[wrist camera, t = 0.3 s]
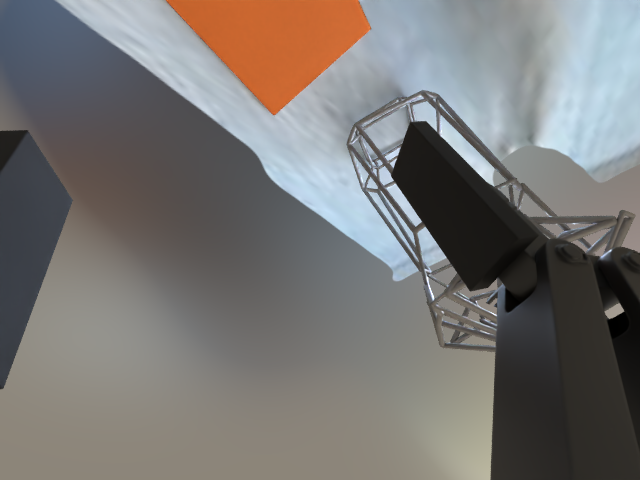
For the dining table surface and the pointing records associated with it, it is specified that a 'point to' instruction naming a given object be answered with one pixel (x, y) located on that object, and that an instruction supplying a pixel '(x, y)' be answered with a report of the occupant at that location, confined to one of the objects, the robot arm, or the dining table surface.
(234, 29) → the mat
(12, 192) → the robot arm
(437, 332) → the geometric lantern
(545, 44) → the dining table surface
